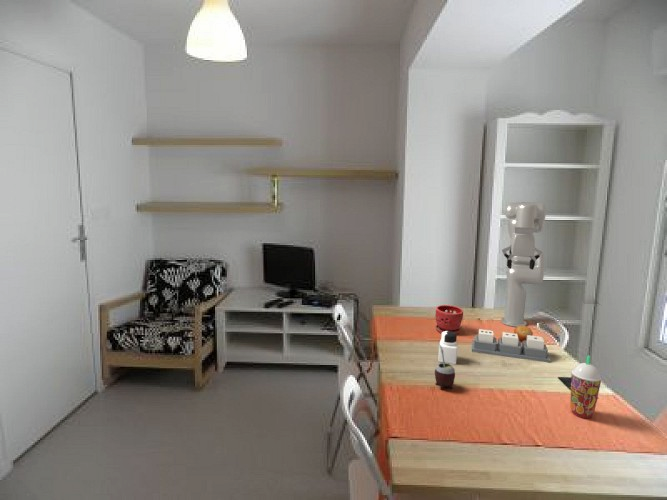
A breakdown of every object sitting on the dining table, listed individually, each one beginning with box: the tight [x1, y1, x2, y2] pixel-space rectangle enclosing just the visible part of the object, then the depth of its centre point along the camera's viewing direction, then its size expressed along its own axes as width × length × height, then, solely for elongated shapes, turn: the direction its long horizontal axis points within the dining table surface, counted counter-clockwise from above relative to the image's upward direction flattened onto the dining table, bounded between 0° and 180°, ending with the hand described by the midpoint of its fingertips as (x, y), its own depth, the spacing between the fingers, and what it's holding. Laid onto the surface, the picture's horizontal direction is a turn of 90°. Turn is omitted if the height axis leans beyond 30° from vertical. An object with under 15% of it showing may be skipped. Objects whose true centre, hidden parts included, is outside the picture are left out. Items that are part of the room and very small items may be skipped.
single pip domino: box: [526, 335, 545, 350], centre depth 179 cm, size 6×6×4 cm
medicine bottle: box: [437, 331, 459, 365], centre depth 173 cm, size 7×7×12 cm
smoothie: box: [569, 355, 603, 419], centre depth 134 cm, size 8×8×20 cm
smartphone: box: [557, 376, 571, 391], centre depth 153 cm, size 7×1×15 cm
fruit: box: [513, 325, 534, 343], centre depth 197 cm, size 8×8×8 cm
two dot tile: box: [501, 331, 518, 346], centre depth 182 cm, size 6×6×4 cm
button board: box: [471, 334, 551, 363], centre depth 183 cm, size 11×31×4 cm, turn 71°
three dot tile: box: [478, 328, 495, 343], centre depth 185 cm, size 6×6×4 cm
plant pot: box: [435, 304, 464, 335], centre depth 206 cm, size 13×13×12 cm
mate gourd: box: [434, 341, 456, 391], centre depth 151 cm, size 8×8×15 cm
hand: (520, 268), depth 191 cm, fingers open, 9 cm apart
